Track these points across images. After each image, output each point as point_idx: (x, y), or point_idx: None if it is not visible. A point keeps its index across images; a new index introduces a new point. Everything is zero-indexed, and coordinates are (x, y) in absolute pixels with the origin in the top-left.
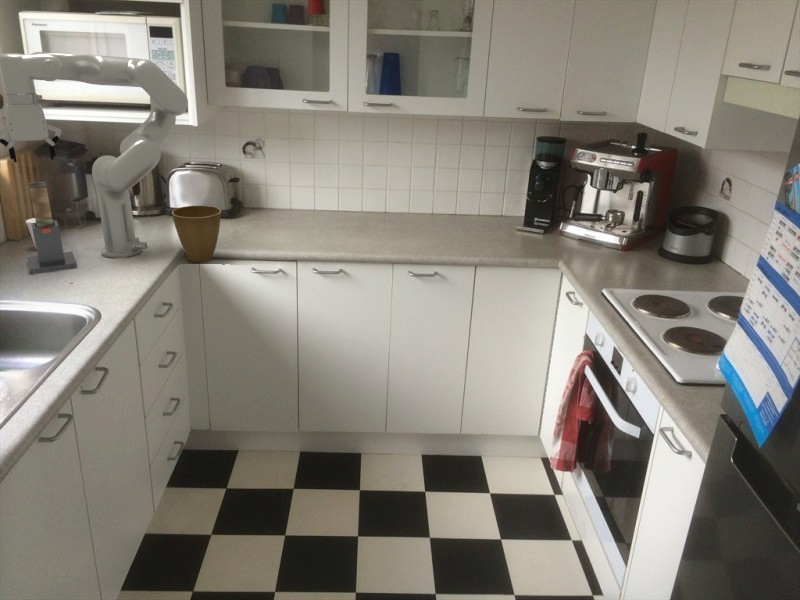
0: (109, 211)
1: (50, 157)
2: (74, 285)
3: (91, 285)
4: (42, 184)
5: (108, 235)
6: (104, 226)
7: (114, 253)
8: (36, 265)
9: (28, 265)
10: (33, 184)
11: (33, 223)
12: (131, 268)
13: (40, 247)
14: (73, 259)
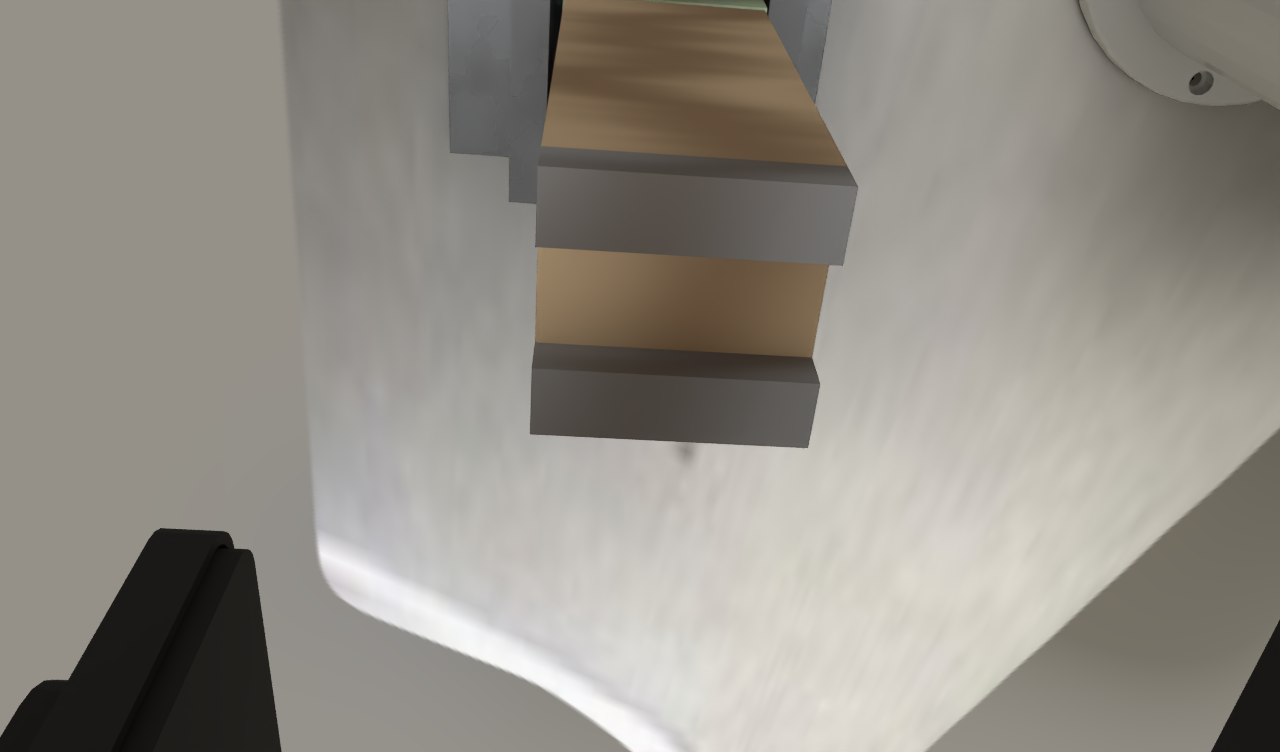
0: None
1: (1265, 711)
2: (691, 488)
3: (777, 529)
4: (758, 410)
5: (1223, 52)
6: (1263, 41)
7: (1156, 37)
8: (510, 75)
9: (449, 42)
10: (621, 247)
11: None
12: (1102, 359)
13: None
14: (807, 64)
